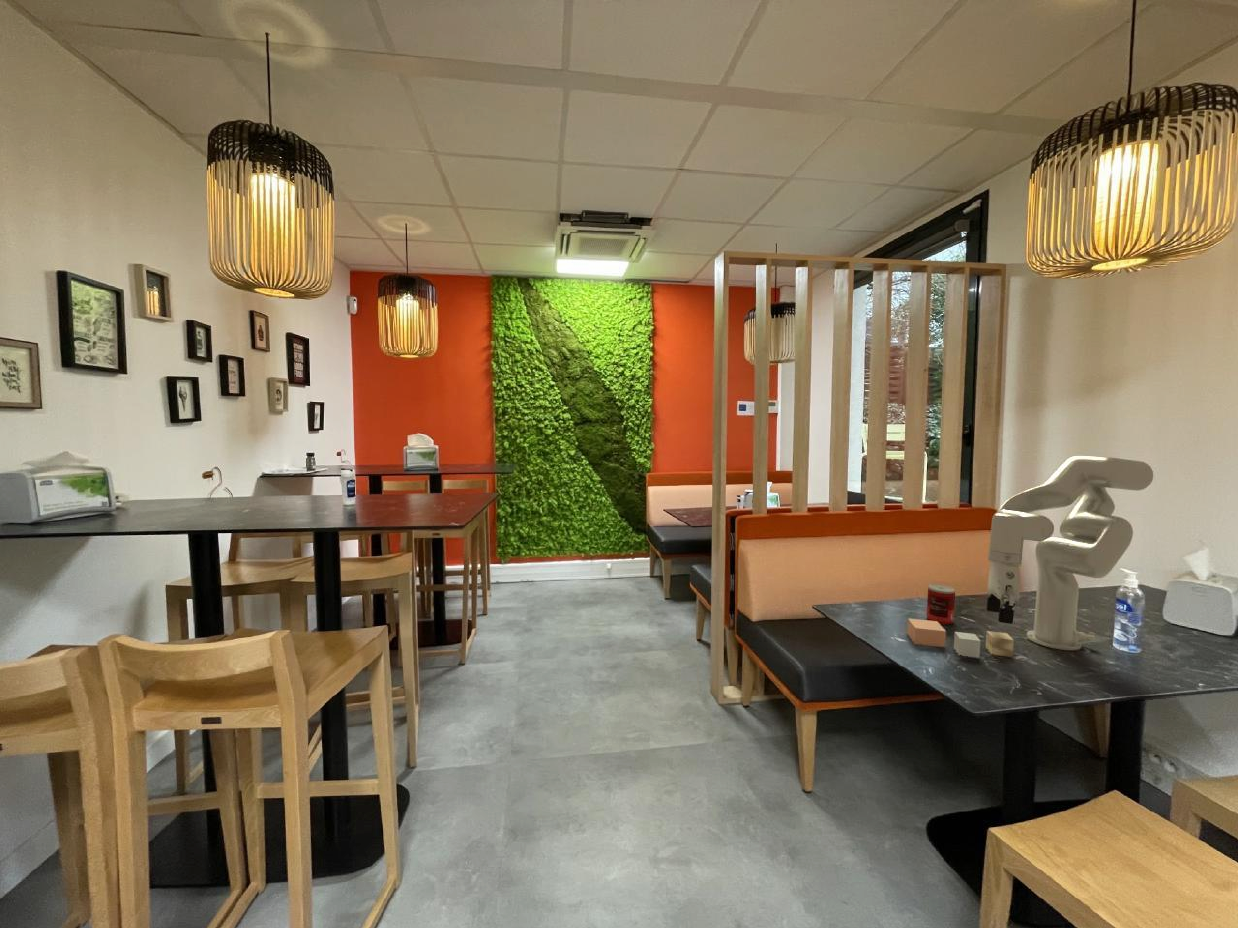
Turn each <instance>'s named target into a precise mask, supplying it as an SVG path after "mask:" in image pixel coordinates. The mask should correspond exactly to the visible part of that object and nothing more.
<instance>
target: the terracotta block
mask: <svg viewBox="0 0 1238 928" xmlns="http://www.w3.org/2000/svg"><path fill="white" fill-rule="evenodd" d="M907 635H908V637H909V638H910V640H911V639H912V640H911V642H914V643H913V644H914V645H920V644H921V646H929V647H939V648H945V647H946V636H947V631H946V629H945V628H944V627H943V626H942V624H939V623H938V621H930V620H928V619H918V618H917V619H915V618H907Z"/></svg>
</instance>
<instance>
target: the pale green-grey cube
mask: <svg viewBox="0 0 1238 928" xmlns="http://www.w3.org/2000/svg"><path fill="white" fill-rule="evenodd" d="M953 637H954V639H953V649H954V651H955V650H956V651H955V652H956V654H957V653H958V654H957V655H958V656H960V655H962V656H961V657H967V656H968V658H975V659H980V655H981V654H980V653H981V640H980V638H979V637H978V636H977V635H976V634H975V633H969V632H960V631H954V636H953Z"/></svg>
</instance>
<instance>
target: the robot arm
mask: <svg viewBox="0 0 1238 928" xmlns="http://www.w3.org/2000/svg"><path fill="white" fill-rule="evenodd" d="M1153 479H1154V471H1153V469H1152V467H1151V466H1150V465H1149V464H1148V463H1147V462H1144V461H1139V460H1135V459H1134V460H1132V459H1125V458H1118V457H1113V456H1112V457H1111V456H1110V457H1109V456H1093V455H1075V456H1071V457H1069V458H1067V459H1066V460H1064V461H1063V463H1062V464H1061V465H1060V466H1059V467H1058V468H1056V470H1055V471H1054V472H1053V473H1052V474H1051V475H1050V476H1049V477H1048V478H1047V479H1046V480H1045V482H1043V483H1042V484H1041V485H1038V486H1036V487H1032V488H1030V489H1027V490H1024V491H1022V492H1020V493H1017V494H1015V495H1013V496H1012V497H1010V498H1008V499H1007V500H1006V501H1005V502H1004V503H1003V504H1002V505H1001V506H999V508H998V510H997V511H996V512H995V513H994V515H993V516H992V518H991V529H990V536H989V547H988V559H987V560H988V562H990V565H989V569H988V570H989V572H988V579H987V590H988V593H987V601H986V602H987V603H986V611H987V612H992V613H998V618H997V620H998V622H999V623H1002V624H1010V625H1011V624H1013V623H1014V616H1015V615H1014V613H1015V608H1016V607H1015V606H1016V602H1018V601H1019V599H1020V590H1021V589H1020V588H1021V587H1020V583H1021V582H1020V581H1021V575H1020V574H1021V573H1020V571H1021V570H1020V566H1022V560H1023V546H1024V542H1025V541H1032V542H1037V544H1036V545H1035V549H1034V550H1035V561H1036V566H1037V581H1036V594H1035V608H1034V620H1033V621H1034V623H1033V630H1028V631H1027V632H1026V638H1027V639H1029V641H1030V642H1034V643H1035V644H1038V645H1040V646H1044V647H1046V648H1047V647H1048V648H1051V649H1055V650H1061V651H1078V650H1080V649H1081V648H1082V642H1083V641H1084V642H1090V643H1096V641H1097V638H1096V636H1095V635H1093V634H1087V633H1086V632H1082V631H1079V630H1077V629H1076V628H1077V616H1078V603H1079V593H1080V587H1079V583H1078V581H1077V579H1076V577H1075V575H1078V576H1083V577H1086V578H1090V579H1091V578H1092V579H1102V578H1104V577H1107V576H1108V575H1109V574H1110V572H1111V571H1112V570H1113V569H1114V567H1115V566H1116V564H1117V563H1118V562H1119V561H1120V559H1121V557H1122V556H1123V555H1124V554H1125V552H1126V551H1127V549H1128V548H1129V546H1130V544H1131V543H1132V539H1133V536H1134V530H1133V526H1132V524H1131V523H1130V522H1129V521H1128V519H1127V520H1126V519H1125V518H1123V517H1120V516H1114V515H1113V513H1114V511H1115V509H1116V505H1115V503H1114V500H1113V498H1112V497H1111V495H1110V494H1109V493H1108V491H1107V489H1106V488H1109V489H1118V490H1127V491H1128V490H1129V491H1138V492H1139V491H1143V490H1145V489H1147V488H1148V487H1149V486H1150V485H1151V484H1152V482H1153ZM1077 499H1078V500H1077ZM1075 501H1076V502H1075ZM1074 502H1075V504H1074V506H1073V507H1072V508H1071V510H1069V512H1067V513H1068V514H1066V516H1065V518H1063V520H1062V522H1061V523H1060V526H1059V533H1060V535H1061V536H1053V534H1054V531H1055V525H1054V523H1053V522H1052V520H1051V519H1050V518H1049V517H1046V516H1044V515H1041V514H1037V513H1036V514H1035V513H1033V512H1038V511H1044V510H1045V511H1046V510H1054V509H1059V508H1065V507H1068V506H1071V505H1073V503H1074Z"/></svg>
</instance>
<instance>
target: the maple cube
mask: <svg viewBox="0 0 1238 928" xmlns="http://www.w3.org/2000/svg"><path fill="white" fill-rule="evenodd" d="M1014 640H1015V639H1014V638H1013V637H1012V636H1010V635H1009V634H1008V632H998V631H990V630H986V637H985V649H986V650H987V649H988V650H987V651H988V653H989V654H991V655H992V654H993V656H1001V657H1007V658H1008V657H1009V658H1013V655H1014V653H1013V652H1014Z"/></svg>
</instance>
